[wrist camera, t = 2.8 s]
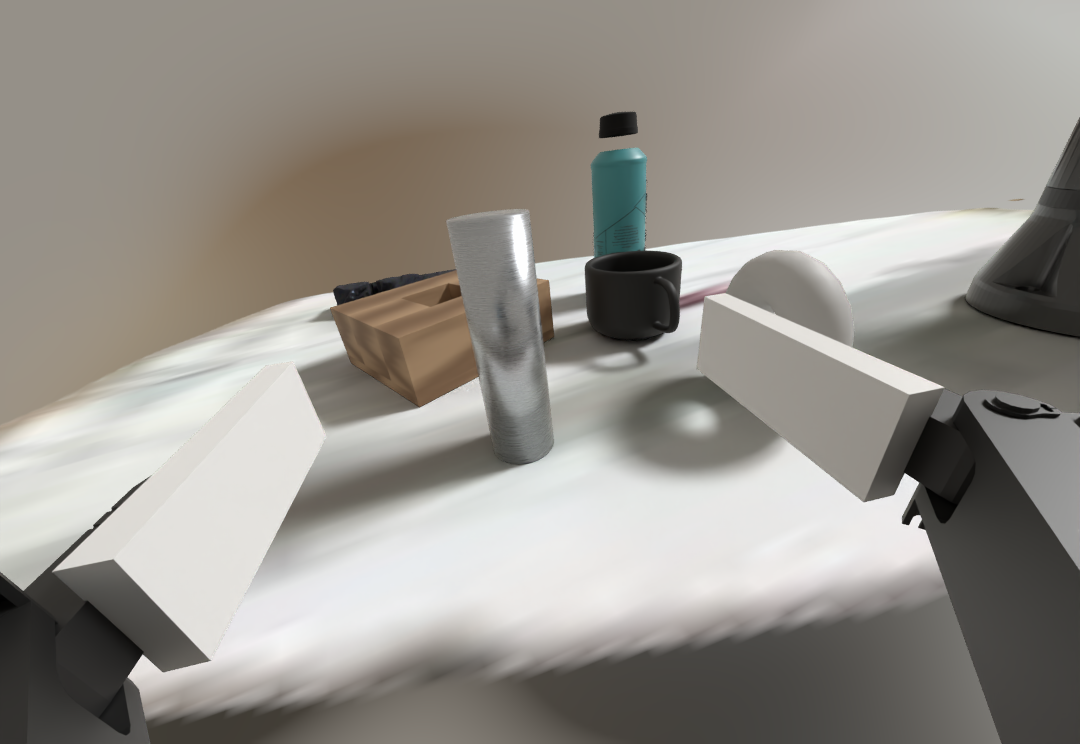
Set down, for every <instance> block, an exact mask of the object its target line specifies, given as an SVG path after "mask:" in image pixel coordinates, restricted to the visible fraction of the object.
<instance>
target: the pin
mask: <svg viewBox="0 0 1080 744" xmlns="http://www.w3.org/2000/svg"><path fill="white" fill-rule="evenodd" d="M446 222H447V227H448V231H449V236H450V241H451V246H452V251H453V255H454V260H455V265H456V270H457V275H458V280H459V285H460V289H461V294H462V299H463V304H464V309H465V314H466V318H467V323H468V328H469V333H470V338H471V343H472V347H473V352H474V357H475V362H476V367H477V372H478V376H479V381H480V386H481V391H482V396H483V401H484V405H485V410H486V415H487V420H488V425H489V430H490V434H491V439H492V444H493V449H494V452H495V454H496V456H497V457H498V458H499V459H501V460H503V461H505V462H507V463H512V464H526V463H531V462H534V461H537V460H539V459H541V458H543V457H544V456H546V455H547V454H548V453H549V452H550V451H551V449H552V447H553V444H554V436H553V427H552V418H551V409H550V400H549V390H548V381H547V372H546V363H545V353H544V344H543V335H542V326H541V316H540V307H539V298H538V289H537V279H536V270H535V261H534V252H533V243H532V234H531V224H530V215H529V210H525V209H512V210H499V211H490V212H482V213H475V214H469V215H464V216H459V217H455V218H451V219H448V220H447V221H446Z"/></svg>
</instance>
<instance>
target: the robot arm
mask: <svg viewBox="0 0 1080 744" xmlns="http://www.w3.org/2000/svg"><path fill="white" fill-rule="evenodd" d="M965 298H966V301H967V302H968V303H969V304H970V305H971V306H973V307H974V308H976V309H978V310H980V311H982V312H984V313H987V314H989V315H992V316H995V317H997V318H1000V319H1004V320H1007V321H1010V322H1014V323H1017V324H1021V325H1025V326H1029V327H1033V328H1038V329H1042V330H1047V331H1052V332H1057V333H1062V334H1068V335H1073V336H1079V337H1080V118H1079V120H1078V122H1077V124H1076V126H1075V128H1074V130H1073V132H1072V134H1071V136H1070V138H1069V140H1068V142H1067V144H1066V146H1065V148H1064V150H1063V152H1062V154H1061V156H1060V158H1059V161H1058V162H1057V164H1056V166H1055V168H1054V170H1053V172H1052V175H1051V177H1050V179H1049V181H1048V183H1047V185H1046V187H1045V190H1044V192H1043V194H1042V196H1041V198H1040V200H1039V202H1038V204H1037V206H1036V208H1035V210H1034V211H1033V213H1032V214H1031V216H1030V217H1029V218H1028V219H1027V220H1026V222H1025V223H1024V224H1023V225H1022V226H1021V227H1020V228H1019V229H1018V230H1017V231H1016V232H1015V233H1014V234H1013V235H1012V236H1011V237H1010V238H1009V240H1008V241H1007V242H1006V243H1005V244H1004V245H1003V246H1002V247H1001V248H1000V249H999V250H998V251H997V252H996V253H995V254H994V255H993V257H992V258H991V259H990V260H989V261H988V262H987V263H986V264H985V265H984V266H983V267H982V268H981V269H980V270H979V271H978V273H977V274H976V275H975V277H974V279H973V281H972V283H971V285H970V288H969V290H968V292H967V294H966V297H965ZM697 369H698V370H699V371H700V372H701V373H703V374H704V375H705V376H706V377H708V378H709V379H710V380H711V381H713V382H714V383H715V384H716V385H718V386H719V387H720V388H721V389H723V390H724V391H725V392H726V393H728V394H729V395H730V396H731V397H733V398H734V399H735V400H736V401H738V402H739V403H740V404H741V405H743V406H744V407H745V408H746V409H748V410H749V411H750V412H751V413H753V414H754V415H755V416H756V417H758V418H759V419H760V420H761V421H763V422H764V423H765V424H766V425H768V426H769V427H770V428H771V429H773V430H774V431H775V432H776V433H778V434H779V435H780V436H781V437H783V438H784V439H785V440H786V441H788V442H789V443H790V444H791V445H793V446H794V447H795V448H796V449H798V450H799V451H800V452H801V453H803V454H804V455H805V456H806V457H808V458H809V459H810V460H811V461H813V462H814V463H815V464H816V465H818V466H819V467H820V468H821V469H823V470H824V471H825V472H826V473H828V474H829V475H830V476H831V477H833V478H834V479H835V480H836V481H838V482H839V483H840V484H841V485H843V486H844V487H845V488H846V489H848V490H849V491H850V492H851V493H853V494H854V495H855V496H856V497H858V498H859V499H860V500H861V501H863V502H867V501H871V500H875V499H879V498H884V497H888V496H892V495H894V494H895V492H896V490H897V488H898V486H899V483H900V481H901V479H902V477H903V475H904V473H906V474H907V475H909V476H910V477H912V478H913V479H915V480H916V481H918V482H919V484H918V486H917V488H916V490H915V492H914V494H913V496H912V498H911V500H910V502H909V504H908V506H907V508H906V510H905V512H904V514H903V516H902V524H906V525H909V524H910V522H911V520H912V518H913V517H914V516H916V515H921V518H922V521H921V523H920V524H919V526H918V528H921V529H924V530H926V532H927V535H928V538H929V540H930V543H931V546H932V549H933V552H934V554H935V557H936V560H937V563H938V566H939V569H940V571H941V574H942V577H943V580H944V583H945V585H946V588H947V591H948V594H949V597H950V600H951V602H952V605H953V608H954V611H955V614H956V616H957V619H958V622H959V625H960V627H961V630H962V633H963V636H964V639H965V642H966V645H967V647H968V650H969V653H970V656H971V659H972V661H973V664H974V667H975V670H976V672H977V676H978V678H979V681H980V684H981V687H982V690H983V692H984V695H985V698H986V701H987V704H988V707H989V709H990V712H991V715H992V718H993V721H994V723H995V726H996V729H997V732H998V735H999V737H1000V740H1001V743H1002V744H1080V413H1063V412H1061V411H1060V410H1058V409H1057V408H1055V407H1054V406H1052V405H1050V404H1048V403H1044V402H1041V401H1039V400H1036V399H1032V398H1029V397H1026V396H1022V395H1019V394H1013V393H1008V392H1002V391H994V390H976V391H969V392H968V393H966V394H965V395H963V396H961V395H958V394H956V393H954V392H951V391H949V390H947V389H944V388H945V387H943V386H941V385H938V384H936V383H934V382H931V381H929V380H927V379H924V378H922V377H920V376H917V375H915V374H913V373H910V372H908V371H906V370H903V369H901V368H899V367H896V366H894V365H892V364H889V363H887V362H885V361H882V360H880V359H878V358H875V357H873V356H871V355H868V354H866V353H864V352H861V351H859V350H857V349H854V348H852V347H850V346H847V345H845V344H843V343H840V342H838V341H836V340H833V339H831V338H829V337H826V336H824V335H822V334H819V333H817V332H815V331H812V330H810V329H808V328H805V327H803V326H801V325H798V324H796V323H794V322H791V321H789V320H787V319H784V318H782V317H780V316H778V315H775V314H773V313H771V312H768V311H766V310H764V309H761V308H759V307H757V306H754V305H752V304H750V303H747V302H745V301H743V300H740V299H738V298H736V297H733V296H731V295H729V294H726V293H724V294H717V295H711V296H705V299H704V307H703V316H702V325H701V334H700V343H699V352H698V361H697ZM325 438H326V434H325V432H324V429H323V427H322V425H321V423H320V420H319V418H318V416H317V414H316V411H315V409H314V407H313V405H312V403H311V400H310V398H309V396H308V394H307V391H306V389H305V387H304V385H303V382H302V380H301V378H300V376H299V374H298V371H297V369H296V367H295V365H294V362H286V363H280V364H273V365H267V366H265V367H264V368H263V369H262V370H260V371H259V372H258V373H257V374H256V375H255V376H254V377H253V378H252V379H251V380H250V381H249V382H248V383H247V384H246V385H245V386H244V387H243V388H242V389H241V390H240V391H239V392H238V393H237V394H236V395H235V396H234V397H233V398H231V399H230V400H229V401H228V402H227V403H226V404H225V405H224V406H223V407H222V408H221V409H220V410H219V411H218V412H217V413H216V414H215V415H214V416H213V417H212V418H211V419H210V420H209V421H208V422H207V423H206V424H205V425H204V426H202V427H201V428H200V429H199V430H198V431H197V432H196V433H195V434H194V435H193V436H192V437H191V438H190V439H189V440H188V441H187V442H186V443H185V444H184V445H183V446H182V447H181V448H180V449H179V450H178V451H177V452H176V453H174V454H173V455H172V456H171V457H170V458H169V459H168V460H167V461H166V462H165V463H164V464H163V465H162V466H161V467H160V468H159V469H158V470H157V471H156V472H155V473H154V474H153V475H151V476H150V477H148V478H147V479H145V480H144V481H142V482H141V483H139V484H138V485H136V486H135V487H133V488H132V489H131V490H130V491H129V492H128V493H127V494H126V495H125V496H124V497H122V498H121V499H120V500H119V501H118V502H117V503H116V504H115V505H114V506H113V507H112V511H110V512H107V513H106V514H104V515H103V516H102V517H101V518H100V519H99V520H98V521H97V522H96V523H95V524H94V525H93V526H94V528H93V529H90V530H88V531H87V532H85V533H84V534H83V535H82V536H81V537H80V538H79V539H78V540H77V541H76V542H75V543H74V544H73V545H72V546H71V547H70V548H69V549H68V550H66V551H65V552H64V553H63V554H62V555H61V556H60V557H59V558H58V559H57V560H56V561H55V562H54V563H53V564H52V565H51V566H50V567H48V568H47V569H46V570H45V571H44V572H43V573H42V574H41V575H40V576H39V577H38V578H37V579H36V580H35V581H34V582H33V583H32V584H31V585H29V586H28V587H27V588H26V589H25V590H24V591H23V590H21V589H20V588H19V587H18V586H16V585H15V584H14V583H13V582H12V581H10V580H9V579H8V578H7V577H6V576H4V575H3V574H2V573H1V572H0V744H150V740H149V736H148V731H147V726H146V721H145V716H144V712H143V707H142V702H141V697H140V692H139V689H138V688H137V687H136V685H135V684H134V683H133V682H132V681H131V680H130V679H129V678H127V677H128V675H129V674H130V672H131V671H132V669H133V668H134V666H135V665H136V663H137V662H138V660H139V659H140V657H141V656H142V654H143V655H144V656H145V657H147V658H148V659H149V660H150V661H151V662H152V663H153V664H154V665H155V666H156V667H158V668H159V669H160V670H161V671H162V672H167V671H171V670H175V669H179V668H183V667H187V666H191V665H195V664H199V663H204V662H208V661H211V659H212V658H213V656H214V654H215V652H216V650H217V648H218V646H219V644H220V642H221V640H222V638H223V636H224V634H225V632H226V630H227V628H228V626H229V625H230V623H231V621H232V619H233V617H234V615H235V613H236V611H237V609H238V607H239V605H240V603H241V601H242V599H243V597H244V595H245V594H246V592H247V590H248V588H249V586H250V584H251V582H252V580H253V578H254V576H255V574H256V572H257V570H258V568H259V566H260V564H261V562H262V561H263V559H264V557H265V555H266V553H267V551H268V549H269V547H270V545H271V543H272V541H273V539H274V537H275V535H276V533H277V531H278V529H279V528H280V526H281V524H282V522H283V520H284V518H285V516H286V514H287V512H288V510H289V508H290V506H291V504H292V502H293V500H294V498H295V496H296V495H297V493H298V491H299V489H300V487H301V485H302V483H303V481H304V479H305V477H306V475H307V473H308V471H309V469H310V467H311V465H312V463H313V462H314V460H315V458H316V456H317V454H318V452H319V450H320V448H321V446H322V444H323V442H324V440H325Z"/></svg>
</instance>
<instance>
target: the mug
mask: <svg viewBox="0 0 1080 744" xmlns="http://www.w3.org/2000/svg"><path fill="white" fill-rule="evenodd" d="M681 271H682V260H681V258H680V257H678V256H677V255H675V254H672V253H667V252H660V251H627V252H618V253H611V254H606V255H602V256H599V257H596V258H593V259H591V260H590V261H588V262H587V263H586V265H585V283H586V305H587V316H588V319H589V321H590V323H591V325H592V327H593V328H594V329H595V330H596V331H597V332H599V333H601V334H603V335H606V336H609V337H613V338H616V339H621V340H640V339H646V338H649V337H652V336H656V335H659V334H661V333H663V332H664V333H671V332H674V331H675V330H676V329H677V327H678V324H679V317H680V307H679V297H680V284H681Z"/></svg>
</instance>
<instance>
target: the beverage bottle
mask: <svg viewBox="0 0 1080 744" xmlns="http://www.w3.org/2000/svg"><path fill="white" fill-rule="evenodd" d="M636 133H638V127H637V116H636V112H617V113H612V114H609V115H606V116H603V117H601V118H600V131H599V138H608V137H617V136H624V135H631V134H636ZM646 161H647V157H646V156H645V154H644V153H643V152H642V151H641V150H640V149H639V148H629V149H621V150H613V151H605V152H600V153H599V154H598V155H597V156H596V158H595V159H594V160H593V162H592V163H591V169H592V192H593V193H592V194H593V219H594V258H596V257H599V256H602V255H606V254H611V253H618V252H627V251H645V247H644V245H645V243H644V242H645V239H646V238H645V237H646V235H645V217H646V216H645V210H646V204H645V203H646V200H647V199H646V197H647V196H646V195H647V194H646Z"/></svg>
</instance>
